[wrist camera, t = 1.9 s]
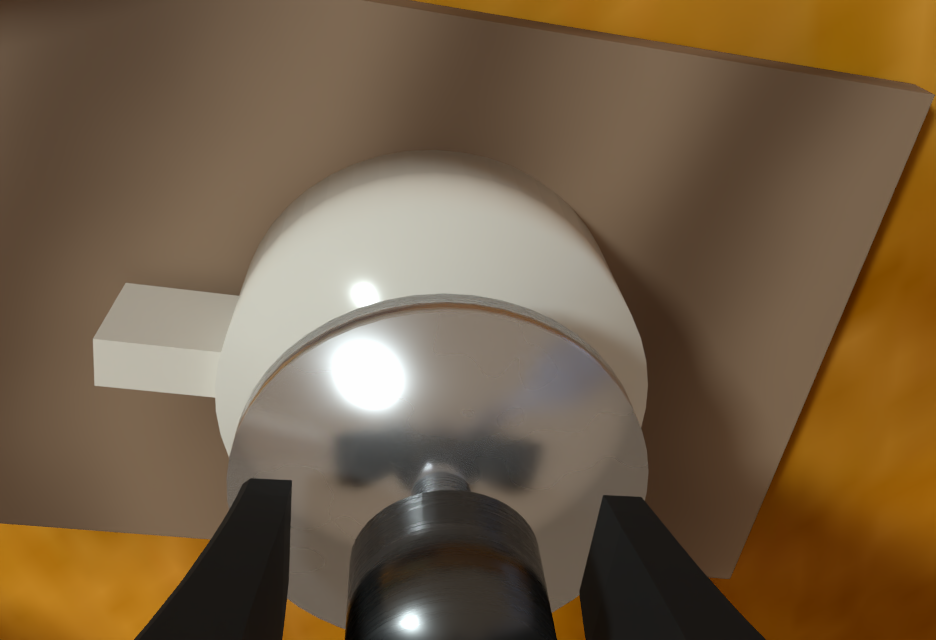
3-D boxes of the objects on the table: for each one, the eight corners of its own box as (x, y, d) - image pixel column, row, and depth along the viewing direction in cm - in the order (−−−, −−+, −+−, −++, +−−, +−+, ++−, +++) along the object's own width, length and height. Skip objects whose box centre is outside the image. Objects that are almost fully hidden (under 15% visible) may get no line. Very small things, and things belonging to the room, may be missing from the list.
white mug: (656, 180, 18) (701, 241, 15) (567, 489, 22) (591, 581, 19) (129, 104, 16) (77, 158, 14) (132, 450, 20) (94, 544, 18)
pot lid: (688, 321, 14) (798, 506, 10) (587, 628, 17) (641, 855, 13) (242, 267, 13) (179, 451, 9) (224, 603, 16) (171, 841, 12)
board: (913, 84, 18) (934, 94, 17) (720, 557, 24) (729, 578, 24) (-153, -94, 15) (-179, -89, 14) (-65, 494, 21) (-81, 517, 21)
